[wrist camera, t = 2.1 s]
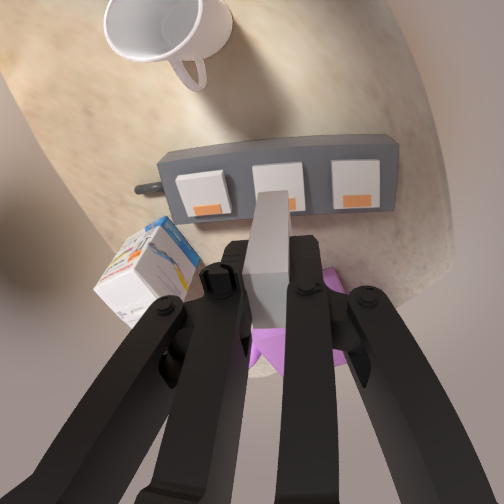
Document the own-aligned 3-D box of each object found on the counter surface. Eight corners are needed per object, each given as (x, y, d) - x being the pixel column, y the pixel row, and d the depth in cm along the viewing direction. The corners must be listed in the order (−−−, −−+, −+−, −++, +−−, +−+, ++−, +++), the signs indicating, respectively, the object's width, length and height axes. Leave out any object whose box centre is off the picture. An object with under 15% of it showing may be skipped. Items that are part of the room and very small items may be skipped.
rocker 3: (330, 160, 29) (332, 161, 28) (376, 159, 29) (379, 160, 28) (332, 206, 31) (334, 209, 30) (377, 204, 31) (379, 207, 30)
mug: (247, 77, 29) (228, 86, 19) (174, 95, 30) (125, 117, 21) (223, -17, 22) (192, -50, 12) (149, 7, 24) (91, -6, 14)
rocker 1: (177, 175, 31) (174, 181, 30) (222, 169, 30) (221, 175, 29) (190, 211, 35) (188, 217, 34) (232, 207, 34) (231, 213, 33)
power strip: (129, 159, 35) (115, 171, 32) (387, 134, 30) (399, 144, 27) (146, 214, 40) (135, 229, 37) (384, 196, 35) (393, 212, 32)
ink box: (166, 213, 40) (133, 268, 30) (201, 258, 44) (180, 319, 35) (125, 237, 43) (90, 290, 34) (159, 277, 47) (133, 333, 38)
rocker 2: (253, 165, 31) (251, 167, 30) (301, 161, 30) (302, 163, 29) (258, 210, 33) (257, 214, 32) (305, 207, 32) (305, 211, 31)
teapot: (349, 253, 41) (365, 322, 31) (366, 299, 46) (380, 365, 36) (226, 295, 48) (211, 361, 38) (255, 332, 53) (248, 394, 43)
